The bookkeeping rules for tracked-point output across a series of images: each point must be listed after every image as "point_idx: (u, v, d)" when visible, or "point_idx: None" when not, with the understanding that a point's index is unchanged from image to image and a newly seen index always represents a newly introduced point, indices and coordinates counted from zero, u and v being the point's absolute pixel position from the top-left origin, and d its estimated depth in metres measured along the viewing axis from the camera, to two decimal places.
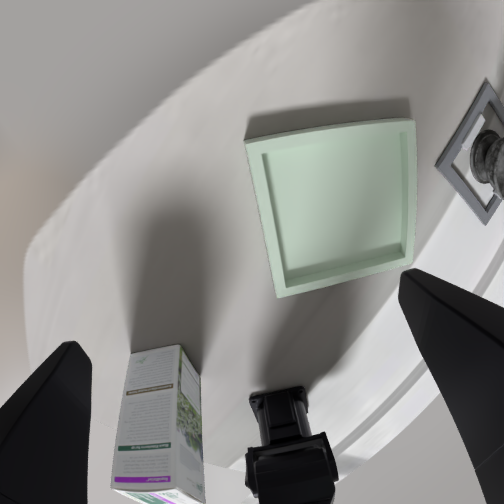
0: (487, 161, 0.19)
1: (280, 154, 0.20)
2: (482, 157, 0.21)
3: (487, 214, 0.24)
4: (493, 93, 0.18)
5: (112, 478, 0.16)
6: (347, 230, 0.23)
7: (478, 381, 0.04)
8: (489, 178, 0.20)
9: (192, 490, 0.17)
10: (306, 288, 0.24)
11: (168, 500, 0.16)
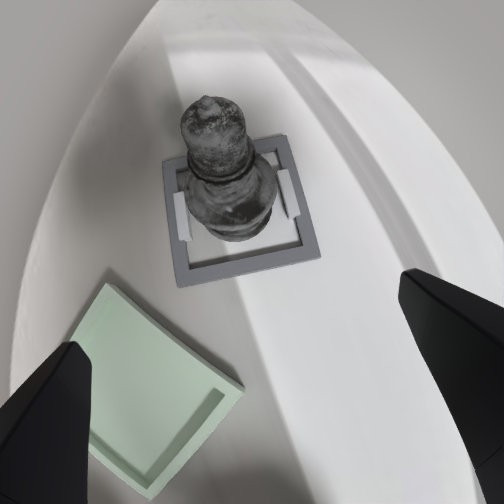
0: None
1: None
2: None
3: (306, 245, 0.21)
4: (175, 160, 0.23)
5: None
6: (152, 413, 0.19)
7: (478, 381, 0.04)
8: None
9: None
10: (161, 482, 0.17)
11: None
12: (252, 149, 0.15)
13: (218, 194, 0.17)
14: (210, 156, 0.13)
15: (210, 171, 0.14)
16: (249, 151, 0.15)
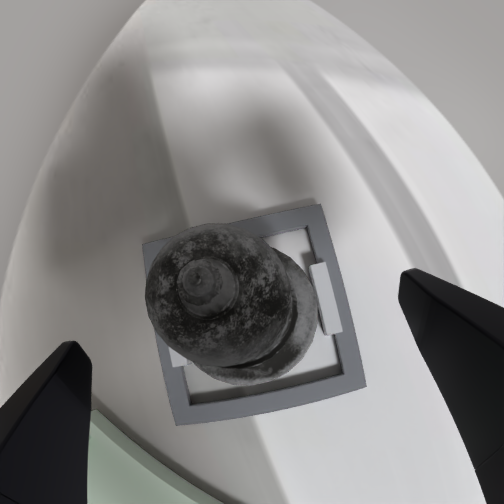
0: None
1: None
2: None
3: (349, 374, 0.14)
4: (160, 243, 0.16)
5: None
6: None
7: (478, 381, 0.04)
8: None
9: None
10: None
11: None
12: (291, 298, 0.08)
13: None
14: None
15: None
16: None
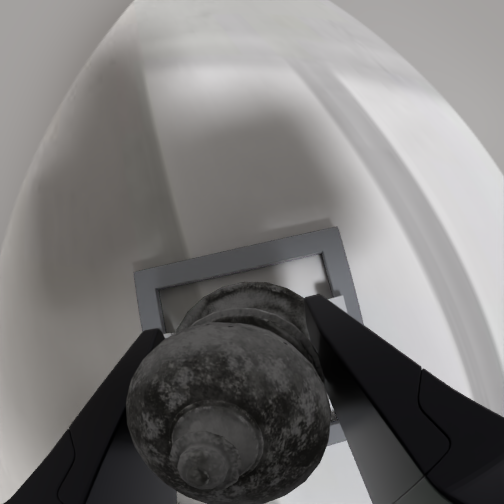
0: None
1: None
2: None
3: None
4: (154, 272, 0.14)
5: None
6: None
7: (362, 432, 0.04)
8: None
9: None
10: None
11: None
12: None
13: None
14: None
15: None
16: None
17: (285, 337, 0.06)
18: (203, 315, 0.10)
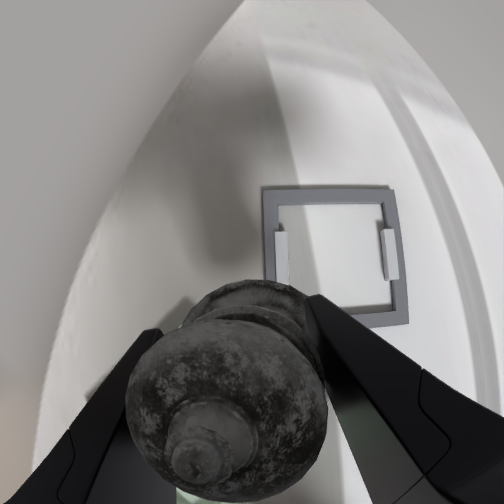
0: None
1: None
2: None
3: (398, 311, 0.20)
4: (278, 192, 0.22)
5: None
6: None
7: (362, 432, 0.04)
8: None
9: None
10: None
11: None
12: (317, 376, 0.06)
13: None
14: None
15: None
16: None
17: (286, 334, 0.06)
18: (206, 312, 0.11)
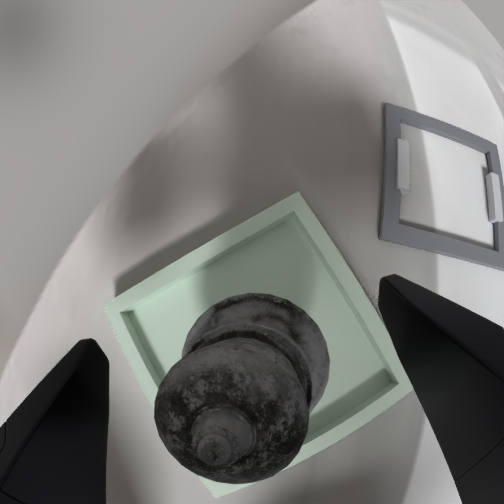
0: None
1: (150, 310, 0.16)
2: None
3: (501, 253, 0.15)
4: (400, 109, 0.18)
5: None
6: None
7: (455, 393, 0.04)
8: None
9: None
10: None
11: None
12: (306, 384, 0.07)
13: None
14: None
15: None
16: None
17: (281, 349, 0.08)
18: (212, 321, 0.12)
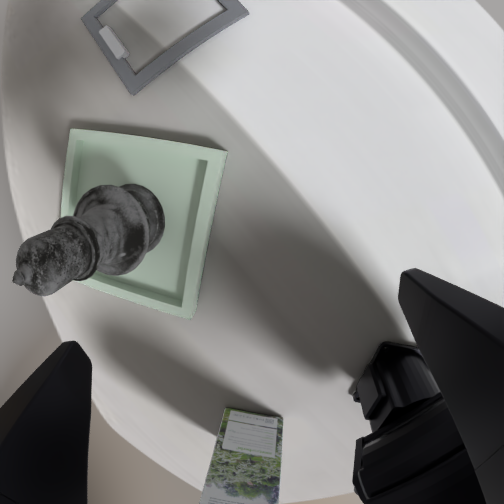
0: None
1: None
2: None
3: (231, 8, 0.16)
4: (91, 10, 0.16)
5: None
6: None
7: (478, 381, 0.04)
8: None
9: None
10: (190, 290, 0.21)
11: None
12: (82, 226, 0.14)
13: (103, 261, 0.16)
14: (64, 284, 0.12)
15: (78, 276, 0.14)
16: (82, 230, 0.14)
17: (64, 223, 0.14)
18: None
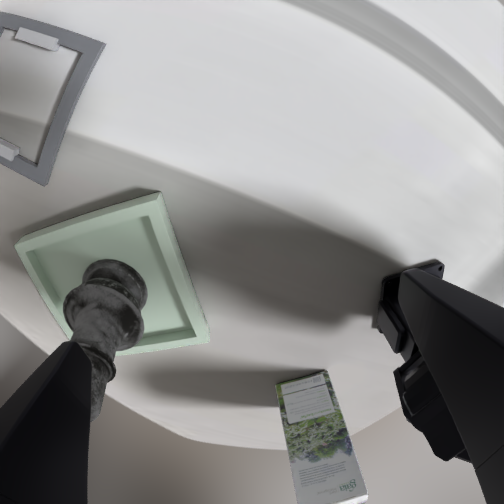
0: None
1: None
2: None
3: (85, 49, 0.13)
4: None
5: None
6: None
7: (478, 381, 0.04)
8: None
9: (331, 497, 0.18)
10: (196, 321, 0.22)
11: None
12: (83, 348, 0.14)
13: (115, 352, 0.17)
14: None
15: (106, 383, 0.15)
16: (86, 352, 0.14)
17: None
18: None
